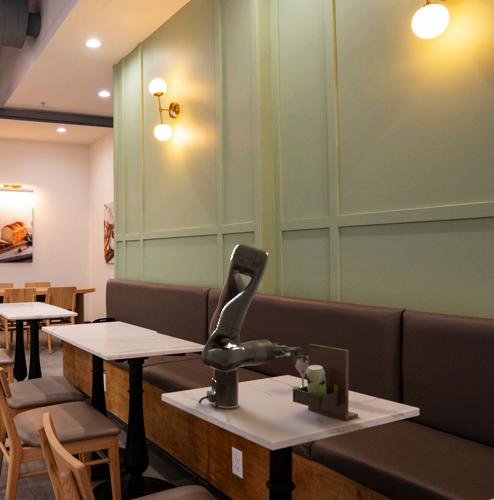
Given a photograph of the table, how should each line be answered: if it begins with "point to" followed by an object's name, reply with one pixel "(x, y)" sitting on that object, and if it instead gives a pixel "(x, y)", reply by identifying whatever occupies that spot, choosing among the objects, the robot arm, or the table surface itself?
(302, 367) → the wine glass
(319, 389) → the beverage can
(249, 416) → the table surface
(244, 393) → the table surface
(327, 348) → the wooden backboard stand
